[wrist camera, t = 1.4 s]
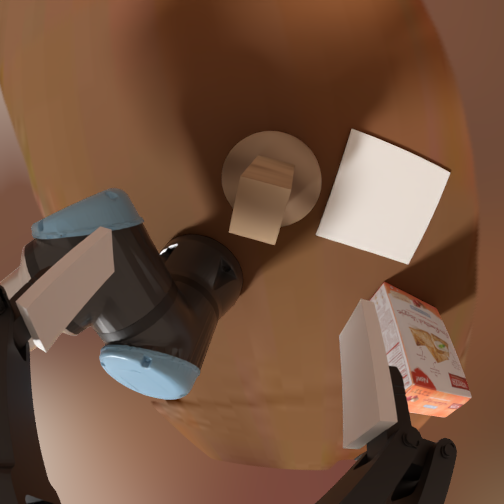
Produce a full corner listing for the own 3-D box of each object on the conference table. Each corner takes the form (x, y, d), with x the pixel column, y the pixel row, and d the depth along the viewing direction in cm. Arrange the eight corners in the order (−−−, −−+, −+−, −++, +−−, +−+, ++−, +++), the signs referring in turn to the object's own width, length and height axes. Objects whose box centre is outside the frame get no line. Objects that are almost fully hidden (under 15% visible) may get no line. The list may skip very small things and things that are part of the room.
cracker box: (437, 305, 43) (474, 398, 25) (418, 327, 46) (444, 419, 28) (384, 278, 42) (416, 385, 24) (364, 303, 45) (381, 410, 27)
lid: (304, 233, 34) (303, 284, 25) (217, 209, 34) (186, 250, 25) (333, 146, 28) (347, 167, 19) (234, 120, 28) (203, 129, 19)
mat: (407, 262, 40) (408, 264, 39) (315, 233, 40) (316, 235, 40) (448, 171, 31) (450, 172, 31) (351, 128, 32) (352, 128, 31)
